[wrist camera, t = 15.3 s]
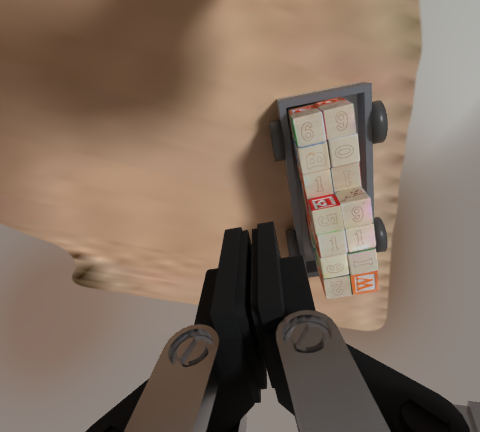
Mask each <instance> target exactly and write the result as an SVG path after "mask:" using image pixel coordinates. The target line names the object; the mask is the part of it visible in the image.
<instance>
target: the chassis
mask: <svg viewBox="0 0 480 432" xmlns="http://www.w3.org/2000/svg"><path fill="white" fill-rule="evenodd" d="M337 97H341V98H344V99H346V100H347V101H349V102H351V103H353V104H354V113H355V123H356V133H357V134H358V142H359V153H360V162H359V163H360V173H361V184H362V188H363V189H364V191H365V192H366V193H367V194H368V195H369V197H370V198H371V206H372V215H373V224H374V230H375V239H376V247H375V249H376V252H383V251H386V249H387V234H386V230H385V226H384V224H383V222H382V220H381V219H380V218H379V217H375V218H374V193H373V144H375V143H381V142H384V140H385V139H386V136H387V129H388V122H387V114H386V110H385V107H384V105H383V103H382V102H381V101H374V102H372V84H371V83H366V82H357V83H352V84H348V85H343V86H338V87H333V88H328V89H323V90H318V91H313V92H308V93H303V94H298V95H294V96H289V97H284V98H279V99H276V100H277V108H278V115H279V120H277V121H272V122H269V127H270V133H271V140H272V146H273V152H274V158H275V161H280V160H285V165H286V172H287V179H288V186H289V193H290V201H291V208H292V215H293V222H294V230H288V231H286V237H287V244H288V250H289V256H290V257H293V256H299V255H302V256H303V259H304V264H305V268H306V272H307V276H308V277H314V276H319V273H318V269H317V265H316V262H315V259H314V257H313V254H312V250H311V247H310V242H309V236H308V229H307V223H306V217H305V208H304V203H303V197H302V192H301V186H300V180H299V175H298V172H297V166H296V161H295V154H294V149H293V143H292V138H291V128H290V123H289V117H288V112H287V108H288V107H293V106H298V105H303V104H308V103H313V102H318V101H323V100H328V99H333V98H337Z"/></svg>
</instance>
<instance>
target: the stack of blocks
mask: <svg viewBox="0 0 480 432" xmlns="http://www.w3.org/2000/svg"><path fill="white" fill-rule="evenodd" d="M287 112H288V117H289V123H290V128H291V138H292V143H293V149H294V154H295V161H296V166H297V172H298V175H299V180H300V186H301V192H302V197H303V203H304V208H305V217H306V223H307V229H308V236H309V242H310V247H311V250H312V254H313V257H314V259H315V262H316V265H317V269H318V273H319V277H320V280H321V283H322V286H323V290H324V293H325V296H326V299H333V298H339V297H346V296H351V295H352V294H353V295H358V294H364V293H370V292H375V291H379V280H378V271H377V270H378V262H377V254H376V249H375V247H376V239H375V230H374V224H373V215H372V206H371V198H370V197H369V195H368V194H367V193H366V192H365V191H364V189H363V188H362V184H361V173H360V163H359V162H360V153H359V142H358V134H357V133H356V123H355V113H354V104H353V103H351V102H349V101H347V100H346V99H344V98H341V97H337V98H333V99H328V100H323V101H318V102H313V103H308V104H303V105H298V106H293V107H288V108H287Z"/></svg>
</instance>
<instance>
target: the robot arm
mask: <svg viewBox="0 0 480 432" xmlns="http://www.w3.org/2000/svg"><path fill="white" fill-rule="evenodd" d="M257 227H258V228H257V229H252V244H251V240H250V236H249V232H248V230H245V231H242V228H241V227H239V228H233V229H227V230H225V233H224V238H223V244H222V250H221V255H220V261H219V266H218V268H217V269H210V270H208V271H207V272H206V276H205V280H204V284H203V289H202V293H201V297H200V302H199V306H198V310H197V315H196V319H195V323H194V325H191V326H188V327H186V328H183V329H181V330H180V331H178V332H177V333H175V334H174V336H172V337H171V338H170V339H169V340H168V342H167V344H166V345H165V347H164V349H163V351H162V353H161V355H160V357H159V359H158V361H157V363H156V365H155V367H154V370H153V372H152V374H151V376H150V378H149V379H148V380H147V381H145V382H144V383H143V384H142V385H141V386H139V387H138V388H137V389H136V390H135V391H133V392H132V393H131V394H130V395H128V396H127V397H126V398H125V399H123V400H122V401H121V402H120V403H119V404H117V405H116V406H115V407H114V408H113V409H111V410H110V411H109V412H108V413H106V414H105V415H104V416H103V417H102V418H100V419H99V420H98V421H97V422H96V423H94V424H93V425H92V426H91V427H90V428H89V429H88V430H87V431H86V432H245V431H246V413H247V412H248V411H249V410H250V409H251V408H252V407H253V405H254V403H259V402H261V389H267V371H268V375H269V379H270V382H271V386H272V388H275V391H276V394H277V398H278V402H279V403H280V404H281V405H282V406H284V407H285V408H286V409H287V410H288V411H290V412H291V413H292V414H293V415H294V416H295V420H296V424H297V427H298V431H299V432H480V402H473V401H468V404H467V406H462V405H453V404H452V403H451V402H449V401H448V400H447V399H445V398H444V397H442V396H441V395H439V394H438V393H436V392H434V391H432V390H430V389H428V388H426V387H425V386H423V385H421V384H419V383H417V382H416V381H414V380H412V379H410V378H408V377H406V376H405V375H403V374H401V373H399V372H397V371H395V370H394V369H392V368H390V367H388V366H386V365H384V364H383V363H381V362H379V361H377V360H375V359H374V358H371V357H370V356H368V355H366V354H364V353H362V352H361V351H359V350H357V349H355V348H353V347H352V346H350V345H348V344H346V343H345V341H344V339H343V337H342V336H341V333H340V332H339V330H338V328H337V326H336V324H335V323H334V322H333V320H332V319H331V318H329V317H328V316H327V315H325V314H323V313H320V312H317V311H315V306H314V302H313V298H312V294H311V289H310V285H309V281H308V276H307V272H306V268H305V264H304V259H303V256H302V255H299V256H293V257H287V258H281V257H280V252H279V247H278V242H277V237H276V232H275V227H274V222H267V223H262V224H258V225H257ZM266 368H267V369H266Z"/></svg>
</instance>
